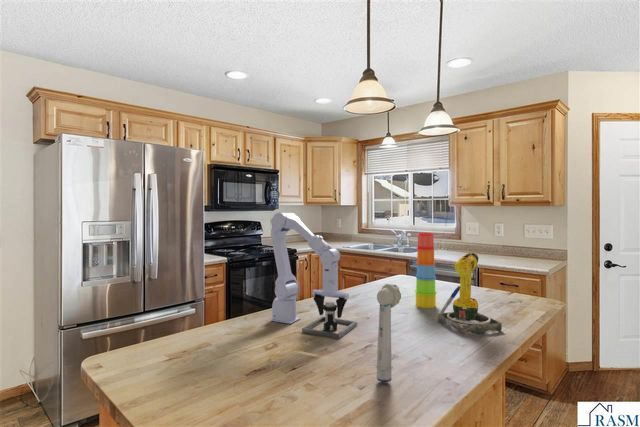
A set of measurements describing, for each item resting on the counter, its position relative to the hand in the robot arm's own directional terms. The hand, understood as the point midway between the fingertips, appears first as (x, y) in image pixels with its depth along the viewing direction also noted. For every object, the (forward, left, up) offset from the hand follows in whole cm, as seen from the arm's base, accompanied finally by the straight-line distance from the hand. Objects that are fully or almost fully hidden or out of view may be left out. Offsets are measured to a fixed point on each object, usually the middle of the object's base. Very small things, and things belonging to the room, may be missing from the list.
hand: (330, 315), depth 137 cm
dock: (0, 0, -5) cm, 5 cm away
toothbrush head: (+31, -29, -5) cm, 43 cm away
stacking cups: (+26, +48, -5) cm, 55 cm away
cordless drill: (+47, +29, -5) cm, 55 cm away
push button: (0, -1, -5) cm, 5 cm away
